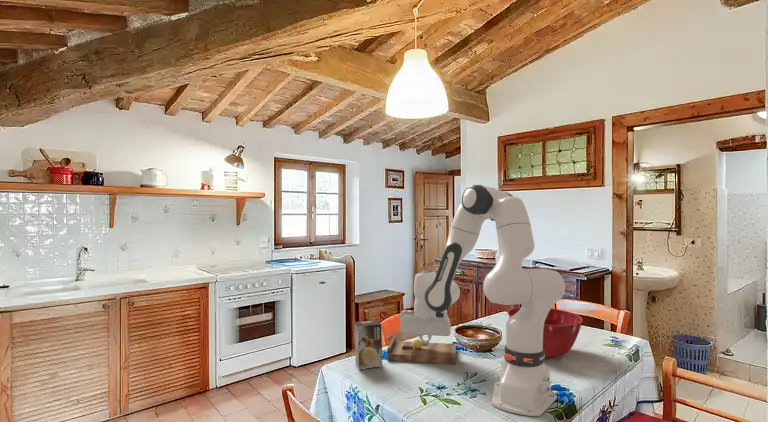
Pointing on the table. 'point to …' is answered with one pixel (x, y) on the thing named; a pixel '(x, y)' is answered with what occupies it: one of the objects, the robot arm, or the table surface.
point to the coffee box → (368, 344)
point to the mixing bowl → (558, 331)
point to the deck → (421, 352)
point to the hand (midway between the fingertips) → (425, 345)
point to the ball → (417, 344)
